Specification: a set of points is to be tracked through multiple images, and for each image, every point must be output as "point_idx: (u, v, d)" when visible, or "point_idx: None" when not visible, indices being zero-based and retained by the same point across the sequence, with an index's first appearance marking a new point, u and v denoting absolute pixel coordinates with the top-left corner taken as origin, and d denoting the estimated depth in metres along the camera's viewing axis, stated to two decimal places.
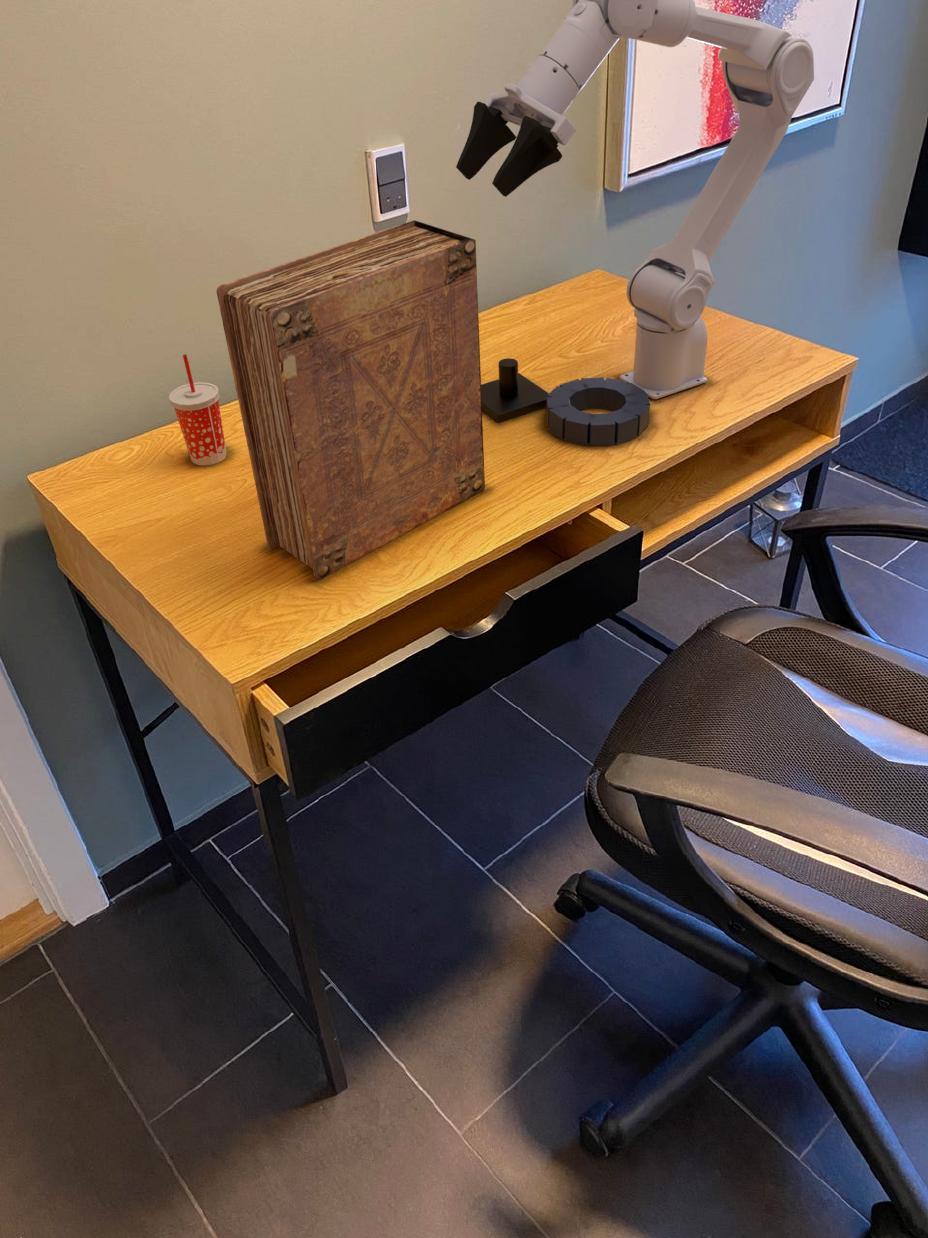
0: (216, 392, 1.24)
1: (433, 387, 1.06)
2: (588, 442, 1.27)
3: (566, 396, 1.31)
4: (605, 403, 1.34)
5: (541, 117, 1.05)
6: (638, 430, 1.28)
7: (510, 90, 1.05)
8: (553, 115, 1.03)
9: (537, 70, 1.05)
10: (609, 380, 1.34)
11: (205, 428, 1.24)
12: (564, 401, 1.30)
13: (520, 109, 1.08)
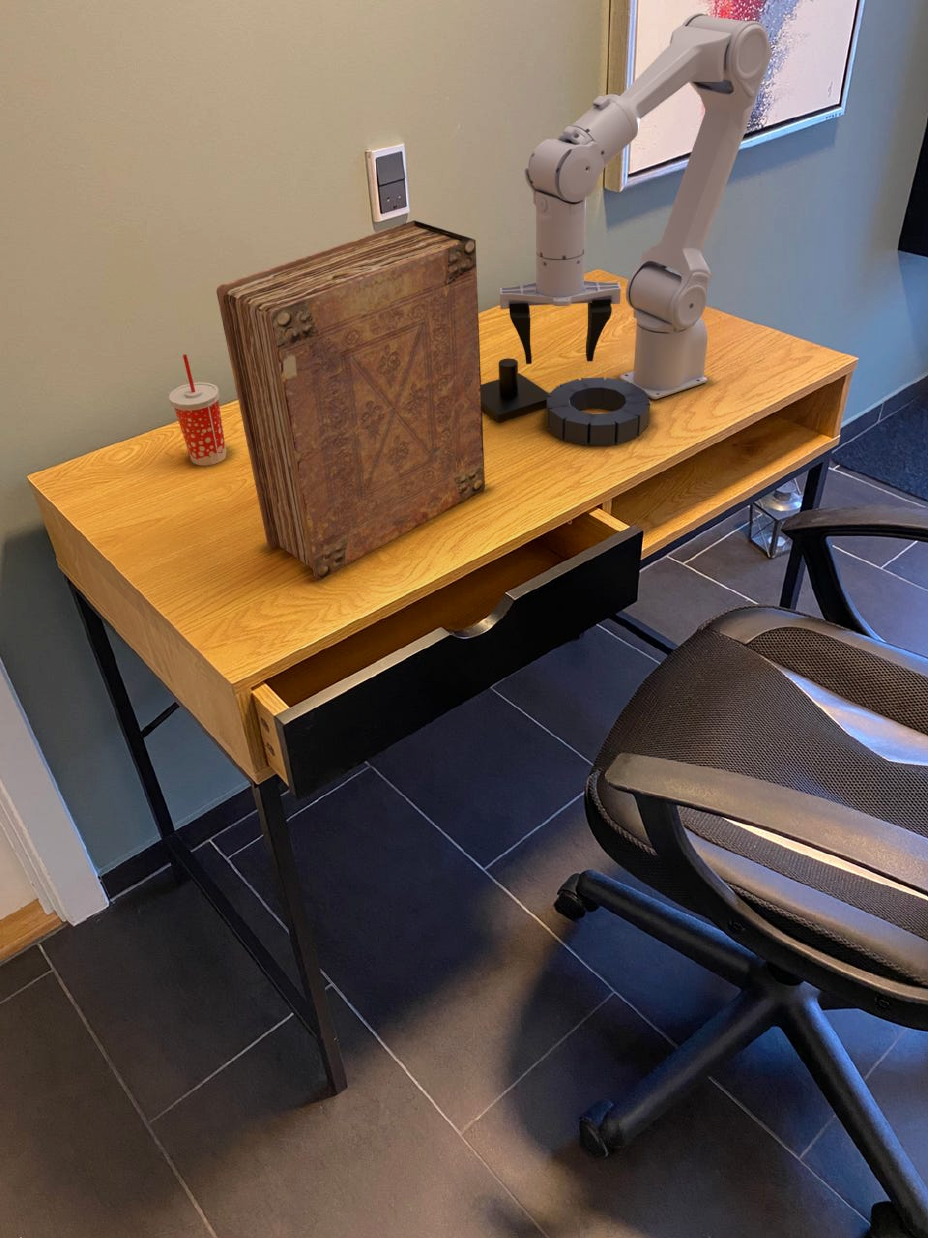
0: (216, 392, 1.24)
1: (433, 387, 1.06)
2: (588, 442, 1.27)
3: (566, 396, 1.31)
4: (605, 403, 1.34)
5: None
6: (638, 430, 1.28)
7: None
8: (606, 293, 1.20)
9: (566, 273, 1.17)
10: (609, 380, 1.34)
11: (205, 428, 1.24)
12: (564, 401, 1.30)
13: None
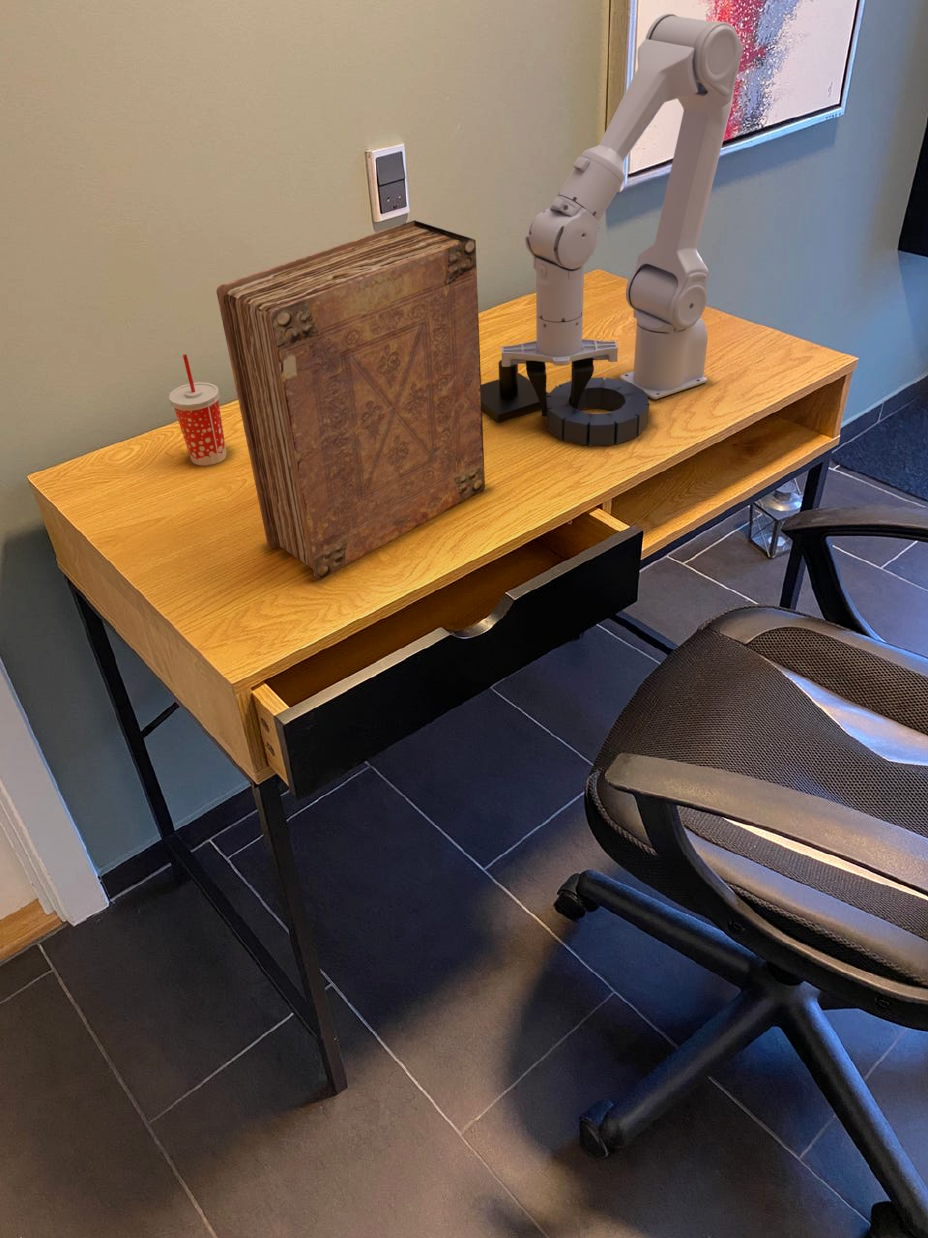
0: (216, 392, 1.24)
1: (433, 387, 1.06)
2: (587, 442, 1.27)
3: (565, 396, 1.31)
4: (604, 403, 1.34)
5: None
6: (637, 430, 1.28)
7: (563, 364, 1.23)
8: (604, 352, 1.24)
9: (565, 334, 1.21)
10: (608, 380, 1.34)
11: (205, 428, 1.24)
12: (563, 401, 1.30)
13: None
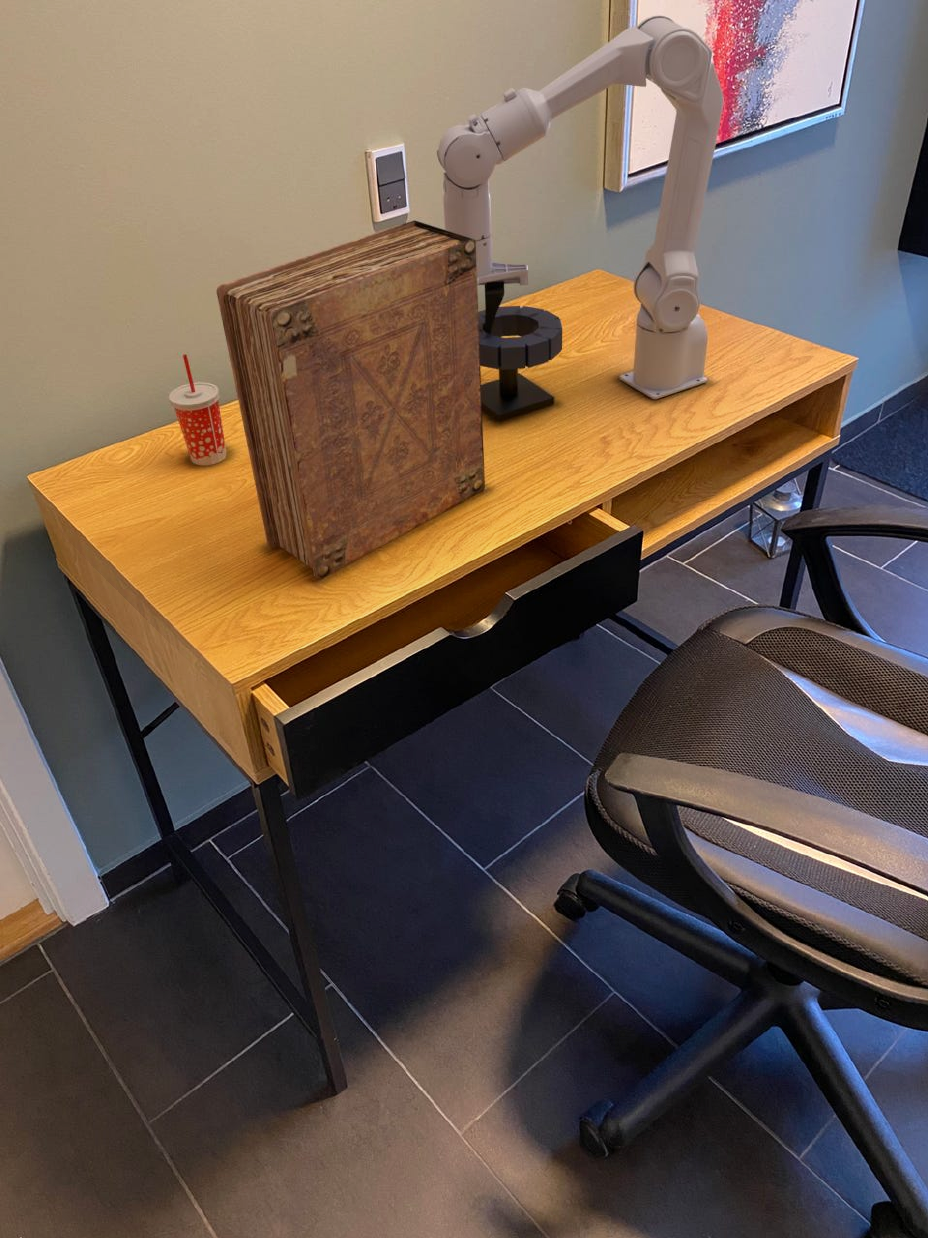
0: (216, 392, 1.24)
1: (433, 387, 1.06)
2: (499, 366, 1.27)
3: (480, 322, 1.31)
4: (521, 331, 1.34)
5: None
6: (550, 354, 1.28)
7: None
8: (514, 274, 1.25)
9: None
10: (525, 308, 1.34)
11: (205, 428, 1.24)
12: None
13: None
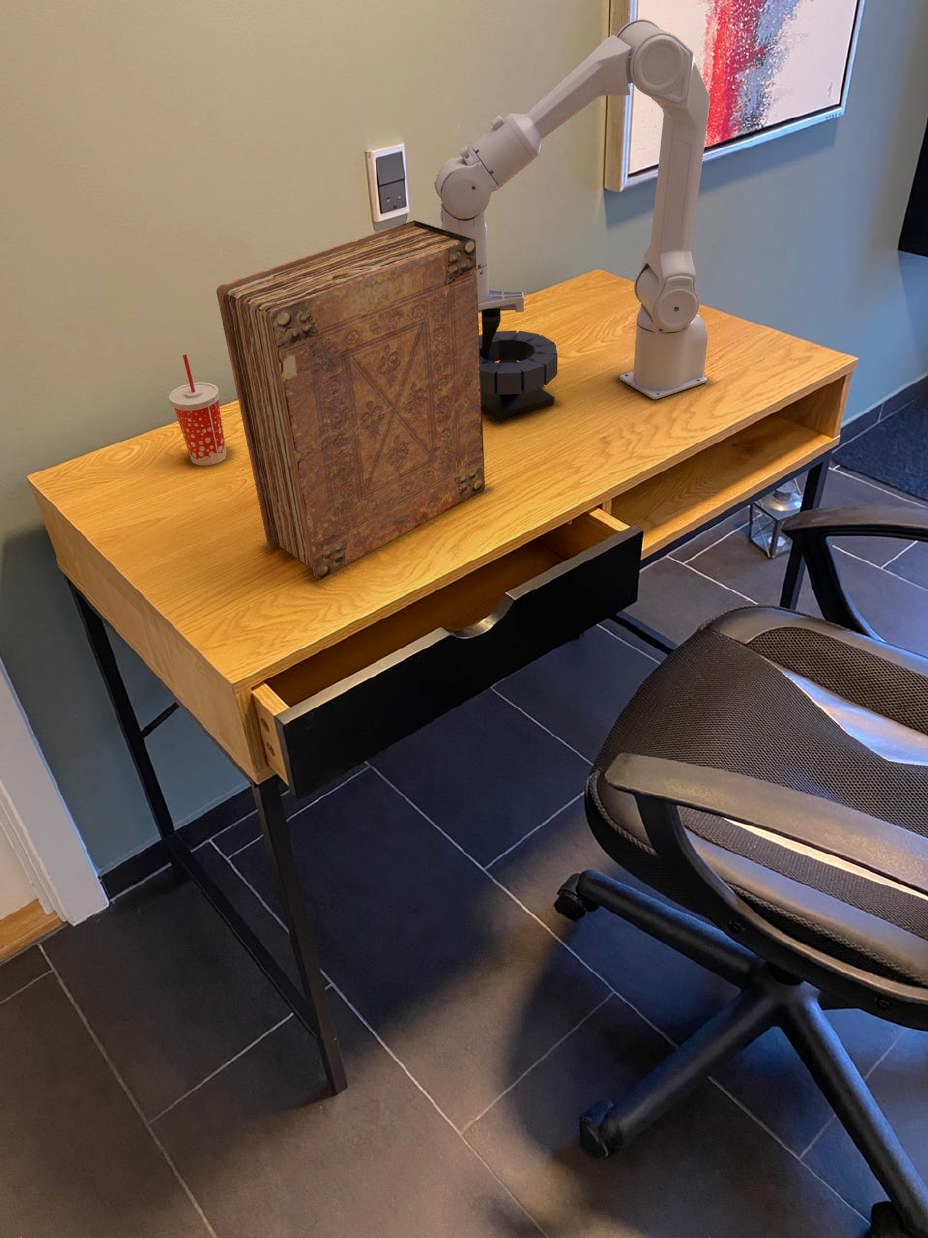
0: (216, 392, 1.24)
1: (433, 387, 1.06)
2: (496, 391, 1.30)
3: None
4: (517, 355, 1.37)
5: None
6: (545, 379, 1.30)
7: None
8: (510, 301, 1.27)
9: None
10: (521, 333, 1.37)
11: (205, 428, 1.24)
12: None
13: None
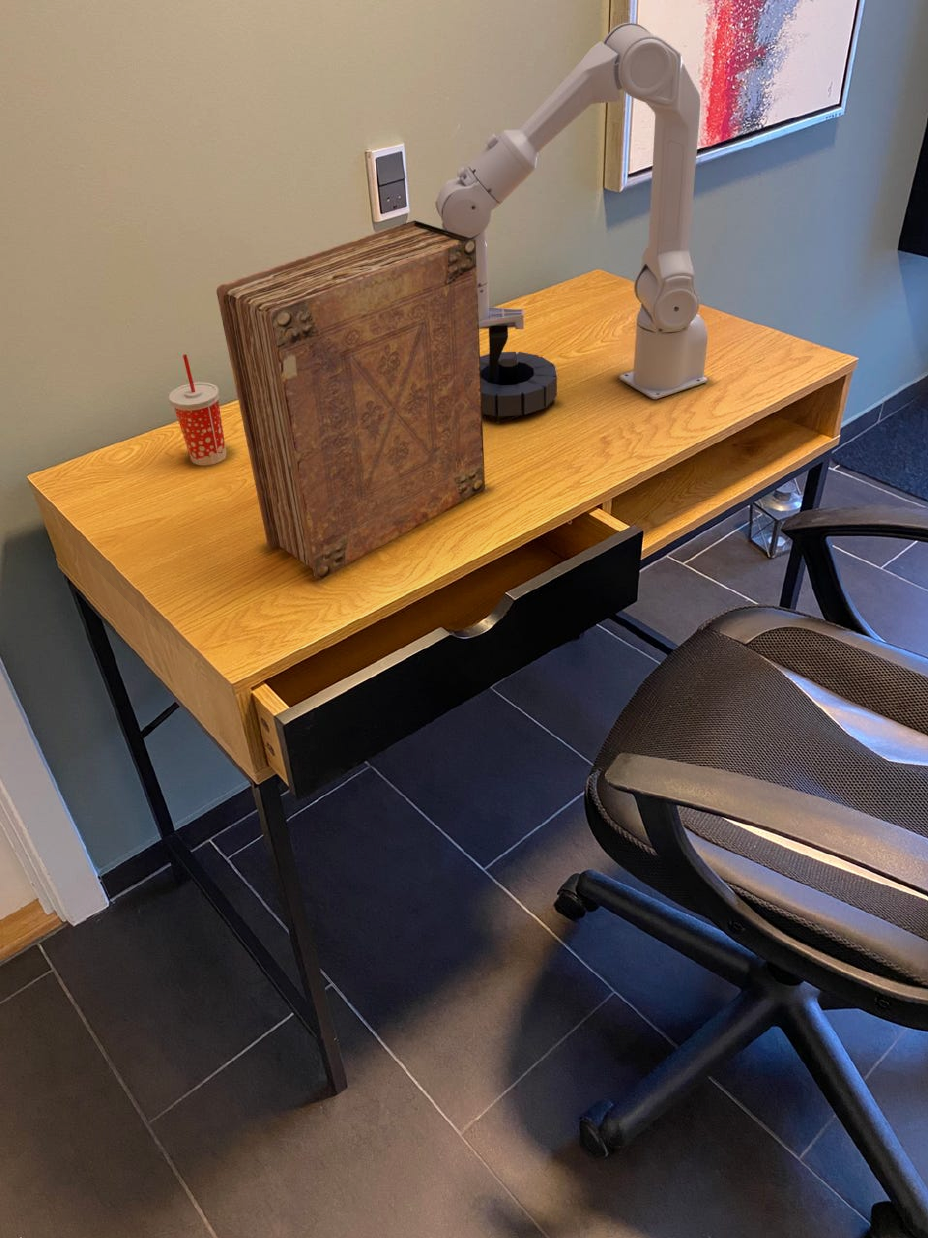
0: (216, 392, 1.24)
1: (433, 387, 1.06)
2: (496, 412, 1.32)
3: None
4: None
5: None
6: (545, 401, 1.32)
7: None
8: (510, 319, 1.29)
9: None
10: (520, 354, 1.39)
11: (205, 428, 1.24)
12: None
13: None
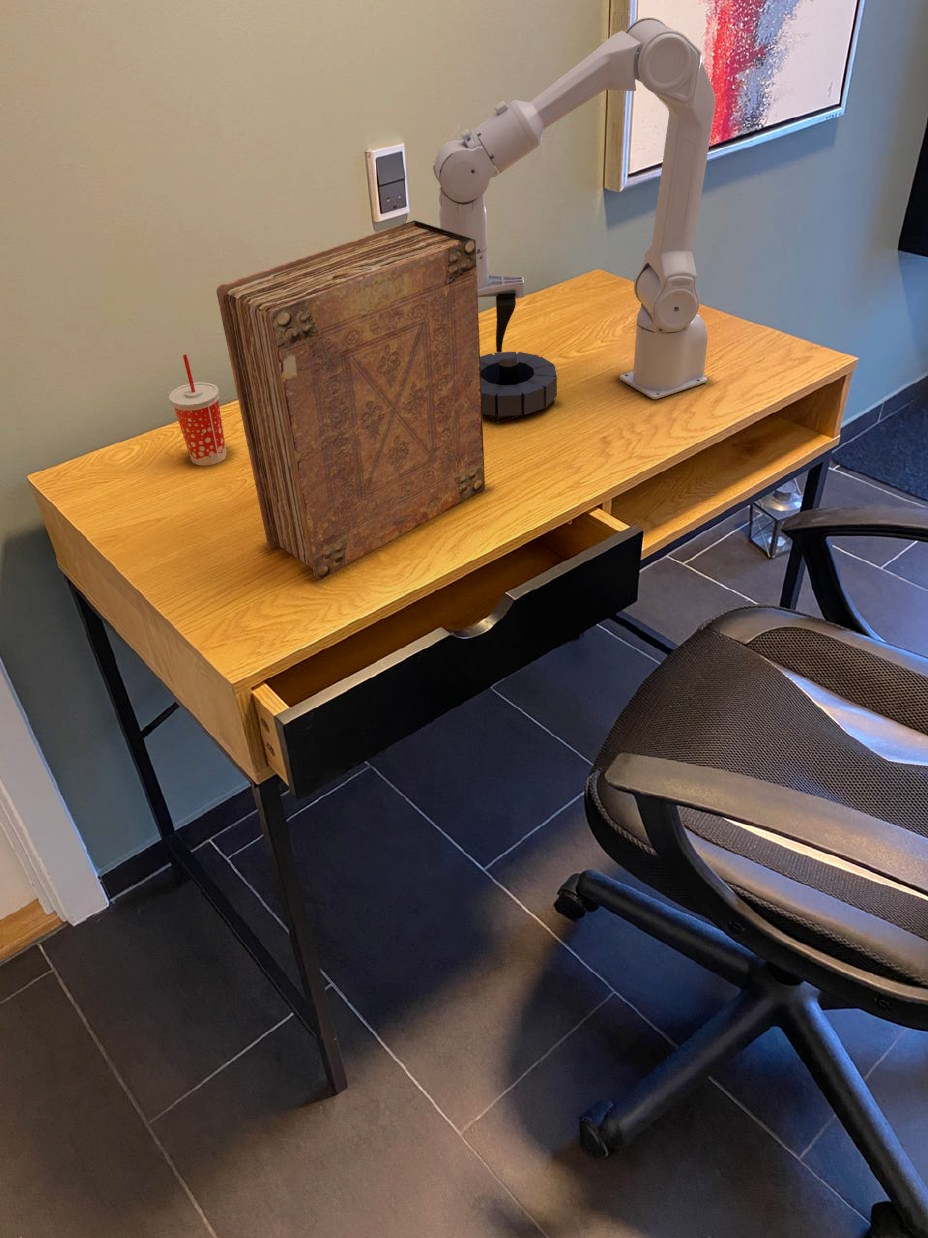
0: (216, 392, 1.24)
1: (433, 387, 1.06)
2: (496, 412, 1.32)
3: None
4: None
5: None
6: (545, 401, 1.32)
7: None
8: (510, 286, 1.26)
9: None
10: (520, 354, 1.39)
11: (205, 428, 1.24)
12: None
13: None
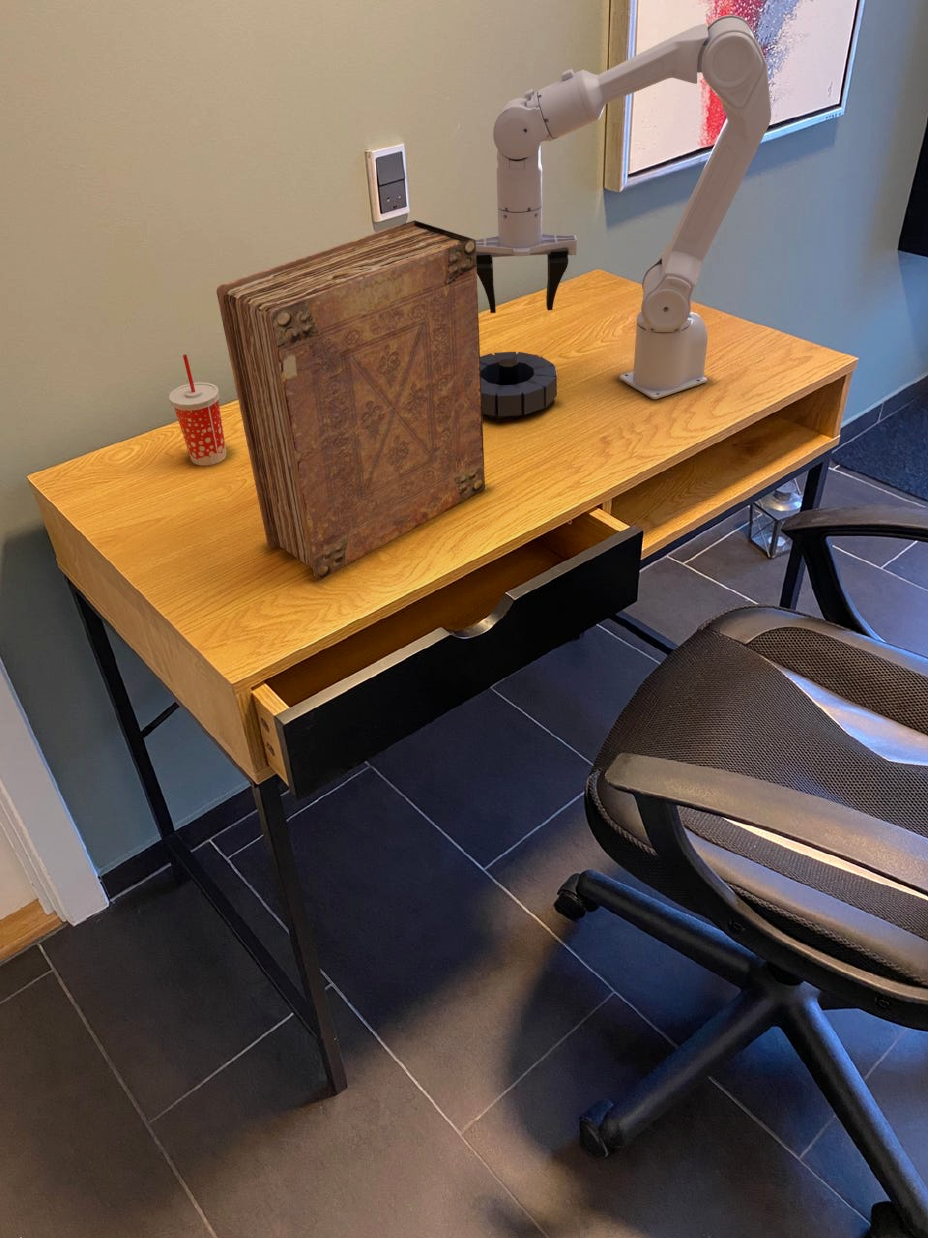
0: (216, 392, 1.24)
1: (433, 387, 1.06)
2: (496, 412, 1.32)
3: None
4: None
5: None
6: (545, 401, 1.32)
7: (524, 255, 1.27)
8: (563, 244, 1.29)
9: (525, 225, 1.26)
10: (520, 354, 1.39)
11: (205, 428, 1.24)
12: None
13: None
